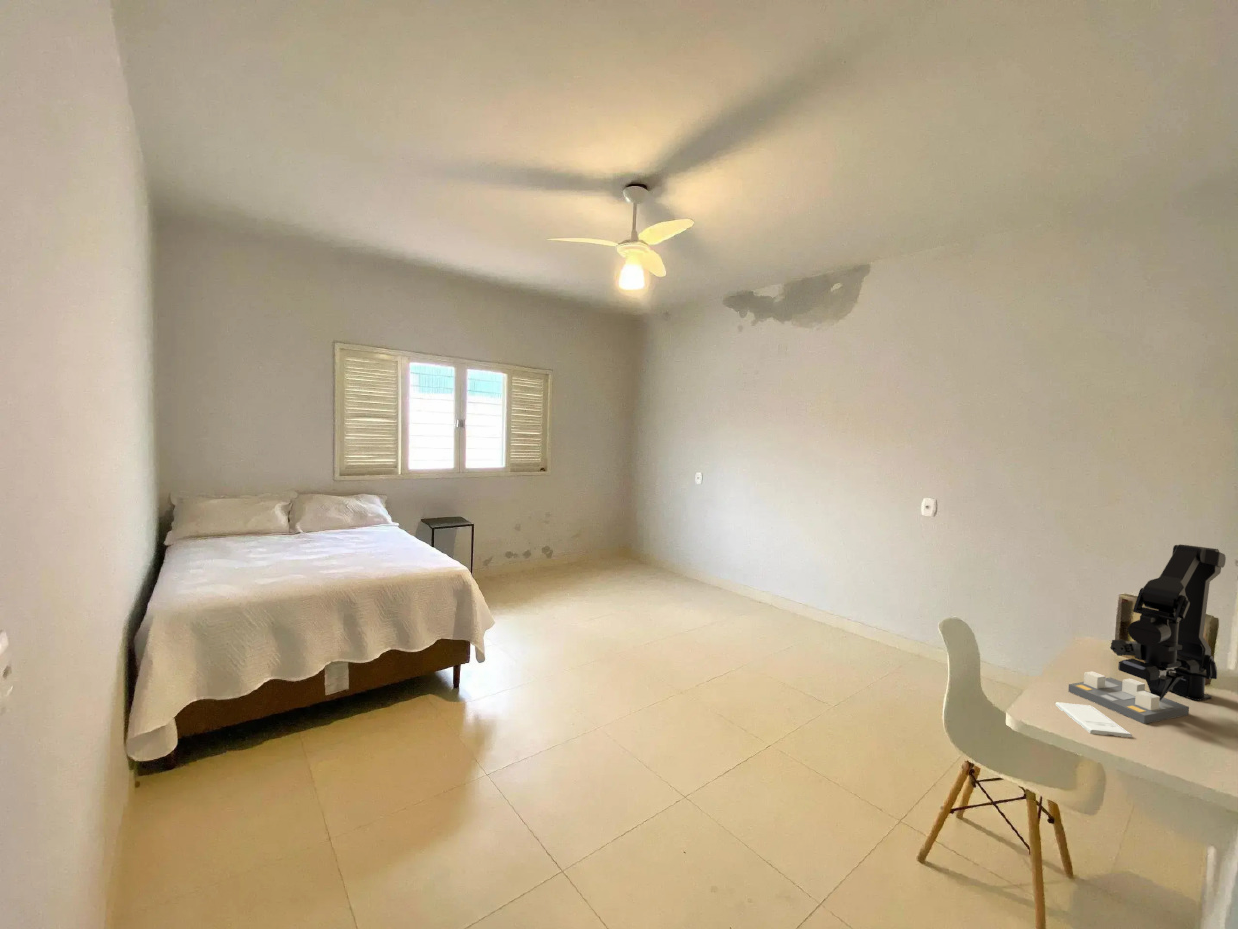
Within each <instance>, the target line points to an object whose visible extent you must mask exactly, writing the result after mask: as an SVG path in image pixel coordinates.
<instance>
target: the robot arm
mask: <svg viewBox="0 0 1238 929" xmlns="http://www.w3.org/2000/svg"><path fill="white" fill-rule="evenodd" d="M1226 558H1227V557H1226V555H1225V553H1223V552H1221V551H1220V550H1219V549H1218V548H1211V547H1204V546H1198V545H1191V544H1190V545H1189V544H1188V545H1187V544H1180V543H1179V544H1175V545H1173V547H1172V555H1171V557H1170V558H1169V560H1168V562H1167V563H1166V565H1165V567H1164V568H1163V570H1162V572H1161V574H1160V575H1159V577H1158V578H1153V579H1149V580H1148V581H1147V583H1146V584H1145V585H1144V586H1143V587H1140V590H1139V592H1138V595H1137V598H1136V600H1135V603H1134V606H1133V609H1132V612H1133V613H1136V614H1140V616H1139V619H1137V620H1135V621H1133V622H1131V623H1130V624H1129V625H1128V626H1127V632H1128V635H1129V637H1130V639H1132V640H1133V641H1132V640H1131V641H1130V640H1129V641H1128V640H1126V641H1125V639H1117V638H1116V639H1112V640H1111V643H1110V647H1109V649H1110V650H1111V651H1112V652H1114V654H1116V656H1117V657H1122V656H1132V657H1133V656H1134V658H1127V659H1121V660H1120V661H1118V668H1117V669H1118V671H1119V672H1123V673H1125V674H1127V675H1128V674H1129V675H1131V676H1134V677H1136V678H1139V679H1142V680H1144V681H1145V682H1146V684H1147V687H1148V690H1149V692H1151V694H1154V695H1157V696H1159V697H1160V700H1161V699H1162V698H1163V697H1164V698H1165V696H1166V695H1167V694H1168V693H1169V692H1171V693H1174V694H1176V695H1179V696H1182V697H1185V698H1188V699H1190V700H1193V701H1197V702H1198V701H1203V700H1208V699H1212V698H1213V696H1212V695H1210V694H1207V693H1205V691H1206V690H1205V688H1206V679H1208V680H1217V679H1218V669H1217V665H1216V662H1215V660H1214V656H1213V655H1212V648H1211V646H1210V645H1209V643H1208V642H1207V640H1206V639H1205V637H1204V631H1205V624H1206V617H1207V616H1206V615H1207V609H1208V608H1207V607H1208V601H1209V600H1208V599H1209V593H1210V592H1209V591H1210V584H1211V581H1213V580H1214V579H1215V578H1216V577H1218V576H1219V575H1221V571H1222V568H1224V567H1225V566H1226ZM1143 606H1144V607H1143ZM1160 700H1159V701H1160Z"/></svg>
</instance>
